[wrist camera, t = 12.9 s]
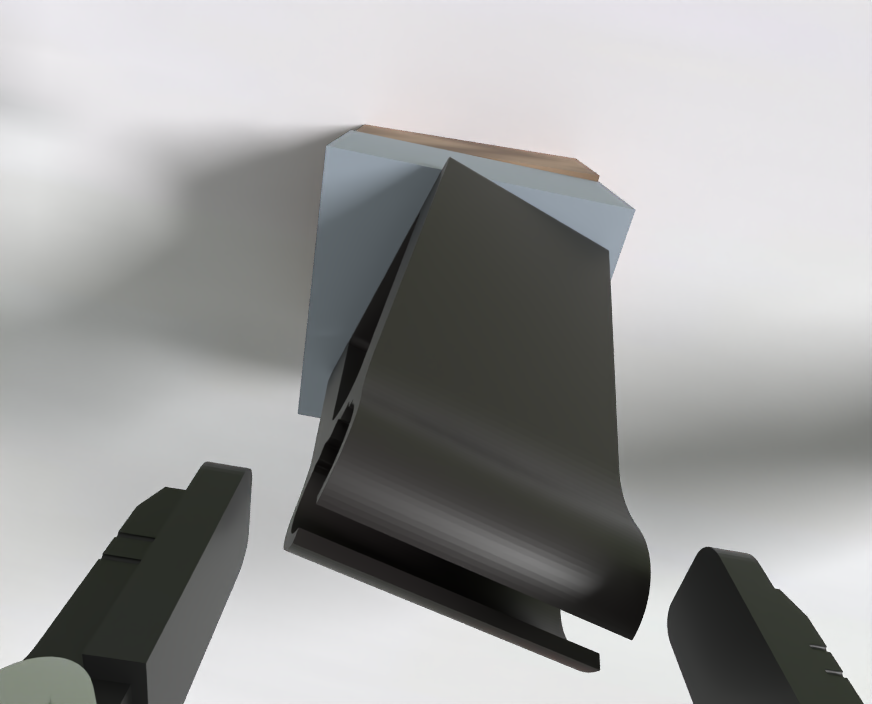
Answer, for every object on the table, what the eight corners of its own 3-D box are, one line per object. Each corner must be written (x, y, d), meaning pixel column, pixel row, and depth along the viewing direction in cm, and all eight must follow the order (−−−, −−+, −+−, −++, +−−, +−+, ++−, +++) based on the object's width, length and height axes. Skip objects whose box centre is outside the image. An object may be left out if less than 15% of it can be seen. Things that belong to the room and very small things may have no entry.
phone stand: (450, 153, 18) (448, 282, 7) (607, 248, 19) (808, 480, 8) (329, 374, 21) (205, 682, 11) (467, 442, 23) (481, 780, 12)
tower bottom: (574, 157, 27) (599, 175, 23) (528, 345, 32) (541, 391, 27) (365, 124, 27) (348, 135, 22) (348, 319, 31) (331, 361, 27)
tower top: (599, 182, 23) (635, 209, 19) (532, 394, 27) (548, 457, 23) (350, 130, 22) (326, 145, 18) (323, 355, 27) (297, 413, 22)
